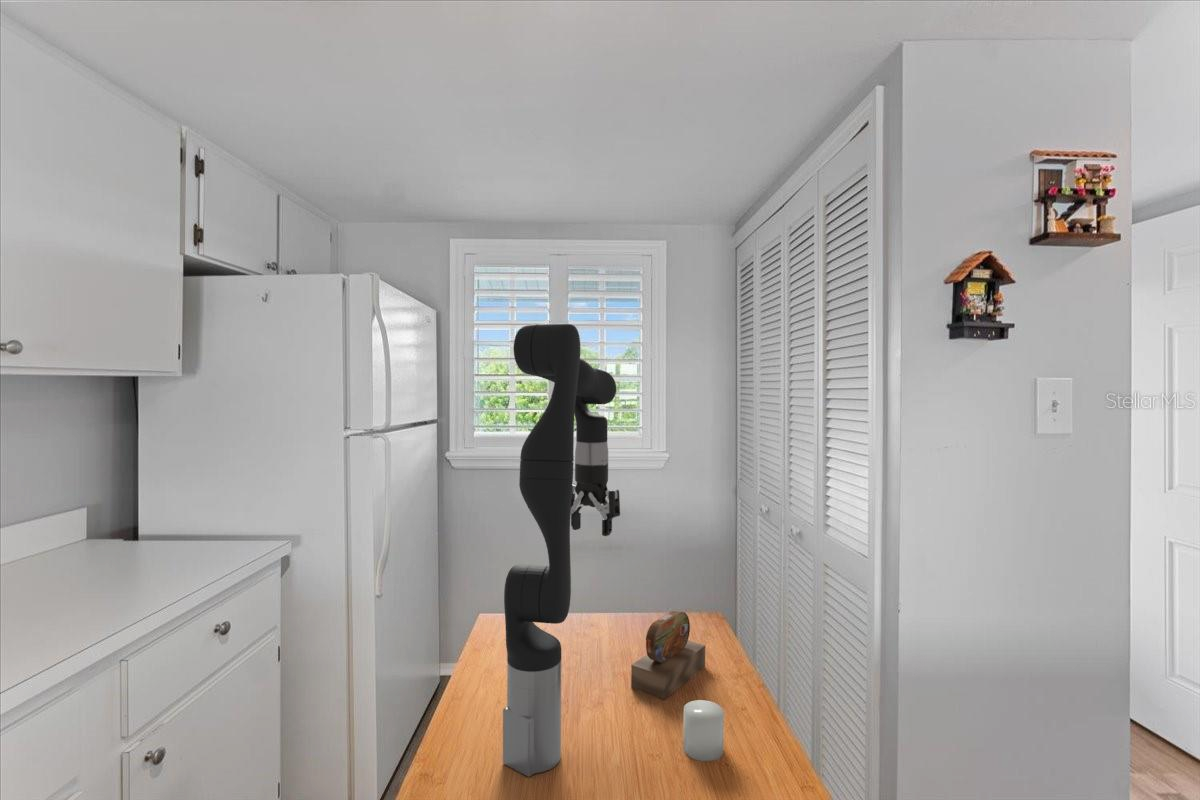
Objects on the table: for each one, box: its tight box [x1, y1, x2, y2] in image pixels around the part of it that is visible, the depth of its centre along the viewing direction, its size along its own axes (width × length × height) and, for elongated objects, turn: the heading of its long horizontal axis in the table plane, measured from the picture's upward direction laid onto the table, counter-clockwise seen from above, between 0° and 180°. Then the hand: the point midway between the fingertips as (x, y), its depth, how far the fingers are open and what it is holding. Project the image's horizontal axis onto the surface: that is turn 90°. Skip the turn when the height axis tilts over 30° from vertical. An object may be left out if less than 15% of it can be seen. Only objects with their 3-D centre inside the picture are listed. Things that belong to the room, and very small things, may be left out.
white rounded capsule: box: [682, 699, 725, 762], centre depth 111 cm, size 7×7×7 cm
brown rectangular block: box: [630, 640, 706, 701], centre depth 137 cm, size 18×8×5 cm, turn 143°
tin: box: [645, 610, 691, 663], centre depth 137 cm, size 15×3×8 cm, turn 143°
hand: (591, 532), depth 142 cm, fingers open, 8 cm apart
